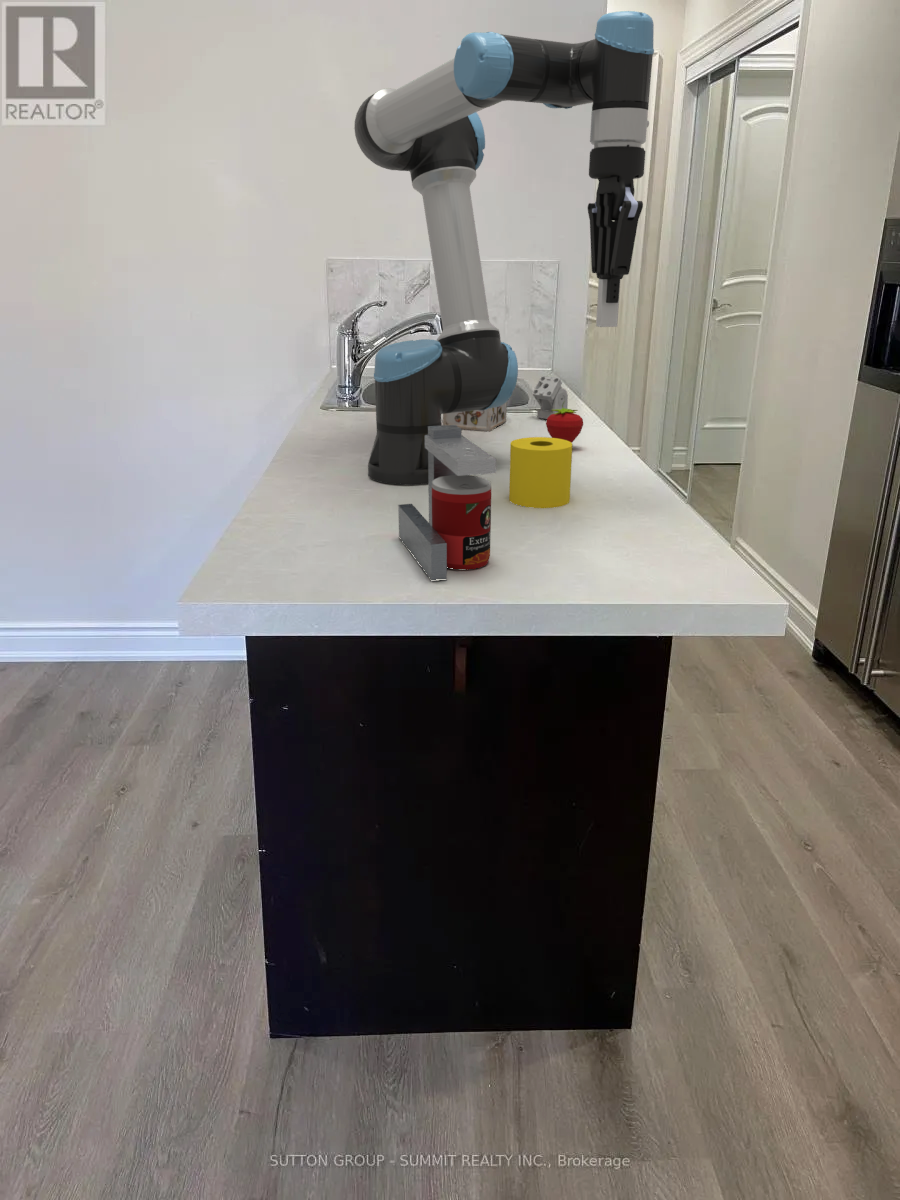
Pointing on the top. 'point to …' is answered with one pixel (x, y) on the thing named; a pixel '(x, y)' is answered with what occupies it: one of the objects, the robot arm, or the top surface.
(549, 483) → the yellow toilet paper roll
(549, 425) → the strawberry
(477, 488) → the canned food
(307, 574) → the top surface
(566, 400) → the mechanical component
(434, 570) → the bracket
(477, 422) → the white patterned box
